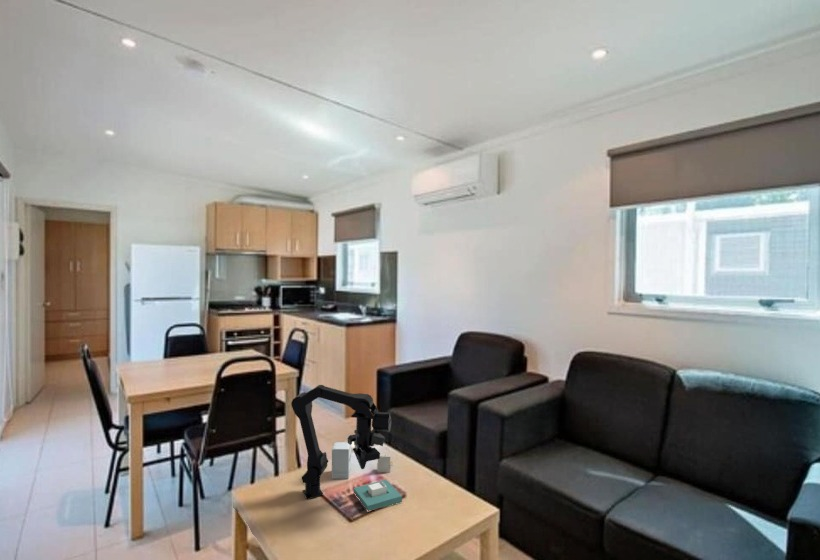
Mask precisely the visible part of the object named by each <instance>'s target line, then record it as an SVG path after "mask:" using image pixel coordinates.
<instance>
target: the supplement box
mask: <svg viewBox="0 0 820 560" xmlns="http://www.w3.org/2000/svg"><path fill="white" fill-rule="evenodd" d="M351 471H352V444H351V445H349V444H348V441H347V442H343V441H342V442H339V441H338V442H334V443H333V446H332V449H331V479H335V480H337V479H341V480H349V478H350V474H351Z"/></svg>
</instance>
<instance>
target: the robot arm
mask: <svg viewBox="0 0 820 560" xmlns="http://www.w3.org/2000/svg"><path fill="white" fill-rule="evenodd" d="M318 398H320V399H324V400H327V401H331V402H335V403H338V404H342V405H345V406H347V407H349V408H350V409H351V410H353V411H354V412H353V413H352V414H351V416H350V417H351V418H356V423H355V424H356V425H355V429H354V431H353V432H354V434H350V435H348V436H347V442H348V444H349V445H351V446H352V445H354V448H352V450H353V453H354V455H355V457H356V460H357V461H358V464H359V467H360V469H361V470H364V469H365V468H366V466H367V463H368V462H371V461H377V460H378V459H380V456H381V452H380V451H379V450H378V449H377V448H375V447H374V446H375V445H377V446H381V447H383V446H384V443H385V439H386V437H385V436H384V435H383V434H382V433H380V432H390V431H391V428H392V417H391V412H389V411H387V412H381V411H379V409H378V407H377V405H376V404H375V403H374V399H373V397H372V395H370V394H368V393H352V392H351V393H350V392H348V391H347V392H346V391H344V390H340V389H336V388H332V387H328V386H326V385H324V384H318V385H317V386H316V387H314V388H312V389H311V390H309V391H307V392H305V391H304V392H301V393H299V394H298V395H297V396H295V397H294V398H292V401H291V404H290V405H291V408H292V411H293V413H294V415H295V416H296V417H297V418H298V420H299V423H300V426H301V430H302V431H301V432H302V435H303V440H304V444H305V448H306V452H307V458H306V459H307V460H306V461H307V462H306V469H307V470H306V471H305V472H304V474H303V475H302V476H301V481H302V483H303V484H305V485H304V486H305V487H304V489H303V490H302V493H303V495H304V497H305V499H306V500H309V499H313V498H317V497H321V496H323V495H324V493H323V491H322V490H321V476H322V475H323V473H324V472H325V470H326V469H327V467H328V463H329V460H328V458H327V457H328V456H327V452H326V451H324V452H322V450H321V449H320V446H319V441H318V437H317V432H316V428H315V425H314V424H315V423H314V420H313V416H312V413H313V412H312V411H313V401H314V400H317V399H318ZM379 431H380V432H379ZM322 494H323V495H322Z"/></svg>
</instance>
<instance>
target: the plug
mask: <svg viewBox="0 0 820 560" xmlns="http://www.w3.org/2000/svg"><path fill="white" fill-rule="evenodd" d="M368 494H369V496H370V497H371V498H373V497H376V496H380V495H383V494H387V486H386V485H385V484H384V483H383V482H379V483H375V484H371V485H368Z"/></svg>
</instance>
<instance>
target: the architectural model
mask: <svg viewBox="0 0 820 560" xmlns="http://www.w3.org/2000/svg"><path fill="white" fill-rule="evenodd" d="M394 464H395V461H391V456H388V455H387V454H385V455H384V456H383V455H380V459H377V464H376V465H377V466H376V467H377V468H376V471H377V473H385V474H386V473H390V474H391V467H393V466H394Z"/></svg>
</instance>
